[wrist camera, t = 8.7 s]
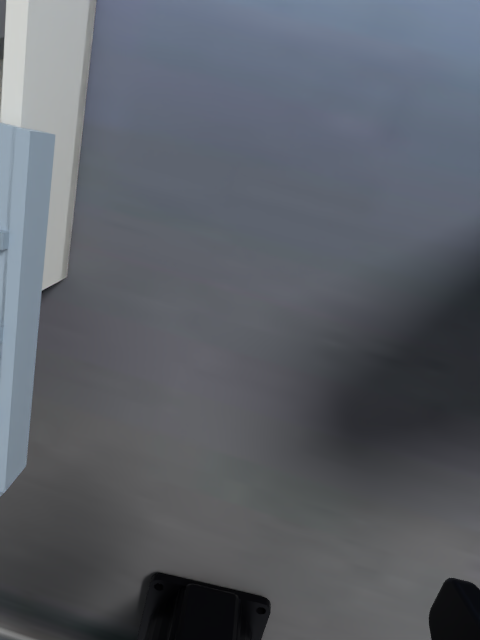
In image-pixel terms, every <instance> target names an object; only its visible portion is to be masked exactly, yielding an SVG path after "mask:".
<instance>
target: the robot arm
mask: <svg viewBox="0 0 480 640" xmlns="http://www.w3.org/2000/svg"><path fill="white" fill-rule="evenodd" d="M158 583H159V584H158ZM269 615H270V601H269V600H268V599H267V598H264V597H261V596H256V595H252V594H248V593H243V592H239V591H235V590H231V589H226V588H222V587H218V586H213V585H209V584H205V583H200V582H196V581H192V580H187V579H183V578H179V577H175V576H170V575H166V574H161V573H158V574H155V575H153V576H152V578H151V581H150V585H149V589H148V594H147V598H146V603H145V607H144V612H143V616H142V621H141V625H140V630H139V634H138V639H137V640H261V638H262V635H263V632H264V630H265V627H266V624H267V621H268V618H269ZM429 627H430V633H431V639H432V640H480V590H479V588H478V587H476V586H475V585H474V584H473V583H471V582H468V581H464V580H460V579H455V578H448V579H447V580H446V581H445V582H444V584H443V586H442V588H441V590H440V591H439V593H438V595H437V597H436V599H435V601H434V603H433V605H432V607H431V610H430V614H429Z"/></svg>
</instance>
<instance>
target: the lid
mask: <svg viewBox="0 0 480 640" xmlns="http://www.w3.org/2000/svg"><path fill="white" fill-rule="evenodd" d="M54 146H55V134H51V133H47V132H43V131H39V130H32V129H26V128H22V127H18V126H14V125H9V124H5V123H1V122H0V497H1V495H2V494H3V493H4V492H5V491H6V490H7V489H8V488H9V486H10V485H11V484H12V483H13V481H14V480H15V479H16V478H17V477H18V475H19V474H20V473H21V472H22V470H23V469H24V468H25V467H26V462H27V451H28V439H29V428H30V417H31V406H32V394H33V383H34V372H35V361H36V349H37V338H38V327H39V315H40V304H41V293H42V282H43V270H44V259H45V248H46V236H47V225H48V214H49V203H50V191H51V180H52V169H53V157H54Z"/></svg>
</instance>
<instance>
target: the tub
mask: <svg viewBox="0 0 480 640" xmlns="http://www.w3.org/2000/svg"><path fill="white" fill-rule="evenodd" d="M96 1H97V0H0V122H1V123H5V124H9V125H14V126H18V127H22V128H26V129H32V130H39V131H43V132H47V133H51V134H55V146H54V157H53V169H52V180H51V191H50V203H49V214H48V225H47V236H46V248H45V259H44V270H43V282H42V290H44V289H46V288H48V287H50V286H51V285H53V284H55V283H57V282H59V281H61V280H63V279H64V278H66V277H67V272H68V263H69V253H70V244H71V235H72V225H73V216H74V207H75V197H76V188H77V178H78V169H79V160H80V150H81V141H82V132H83V122H84V113H85V104H86V94H87V85H88V76H89V66H90V57H91V47H92V38H93V29H94V19H95V10H96Z"/></svg>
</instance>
